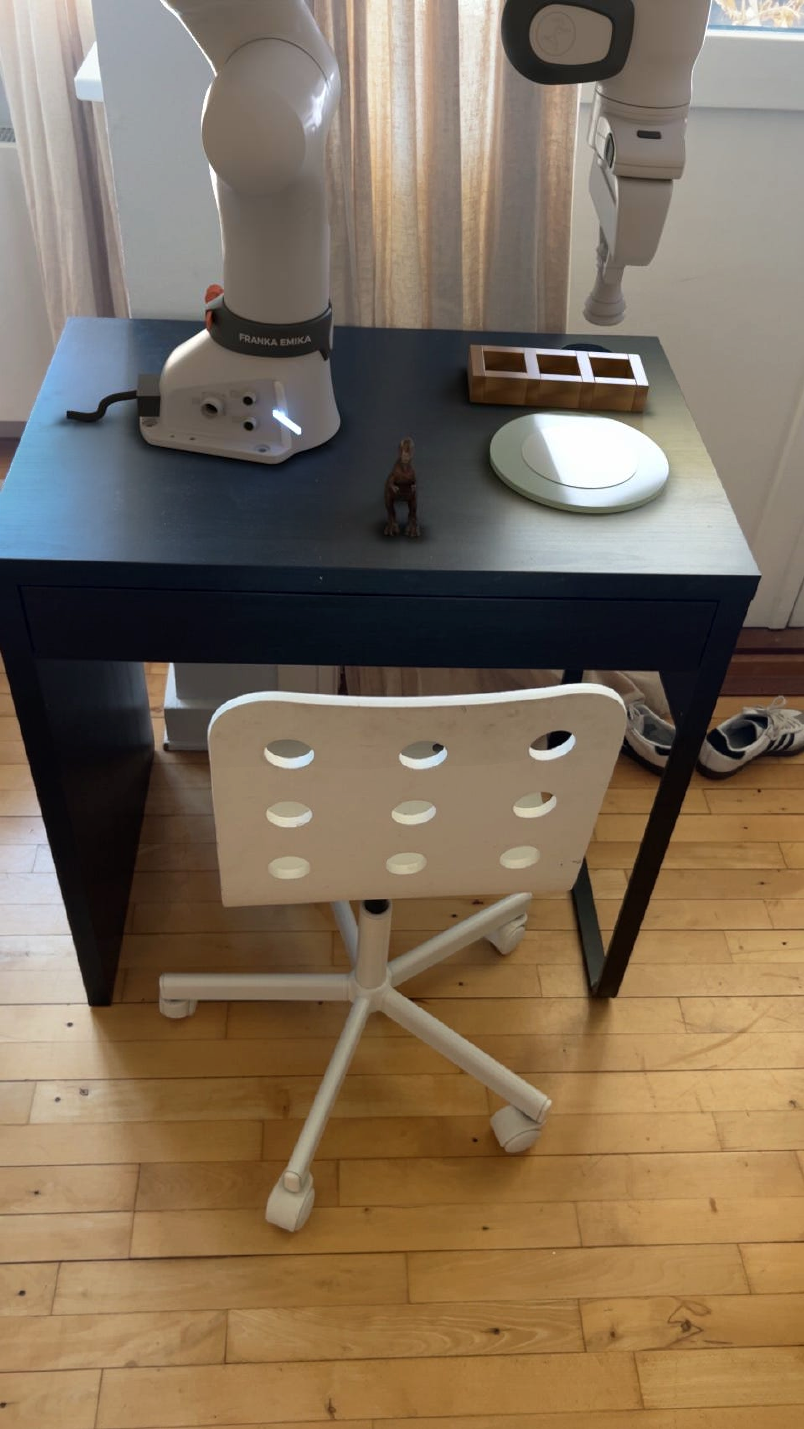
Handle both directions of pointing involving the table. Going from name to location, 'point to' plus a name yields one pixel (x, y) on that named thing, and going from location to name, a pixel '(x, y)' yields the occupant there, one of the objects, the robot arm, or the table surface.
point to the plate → (579, 462)
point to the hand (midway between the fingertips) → (608, 273)
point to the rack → (556, 378)
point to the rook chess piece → (604, 297)
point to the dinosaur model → (402, 490)
